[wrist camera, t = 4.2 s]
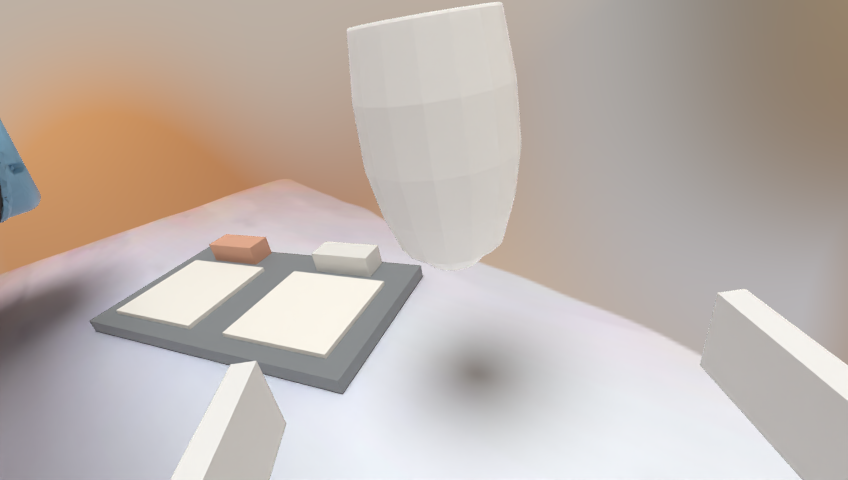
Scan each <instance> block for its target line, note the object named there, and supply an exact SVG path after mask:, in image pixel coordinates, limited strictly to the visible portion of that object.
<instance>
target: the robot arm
mask: <svg viewBox="0 0 848 480" xmlns="http://www.w3.org/2000/svg"><path fill="white" fill-rule="evenodd" d="M40 198H41V196H40V193H39V191H38V189H37V187H36V185H35V183H34V181H33V180H32V178H31V176H30V174H29V172H28V170H27V169H26V167H25V165H24V163H23V161H22V159H21V157H20V155H19V153H18V151H17V150H16V148H15V146H14V144H13V142H12V140H11V138H10V136H9V134H8V133H7V131H6V129H5V127H4V125H3V123H2V121H1V120H0V223H1V222H4V221H6V220H7V219H8V218H10V217H13V216H15V215H19V214H21V213H24V212H28V211H30V210H32V209H34V208H35V207H36V206H37V205H38V204H39V202H40ZM700 366H701V367H702V368H703V369H704V370H705V371H706V372H707V374H708V375H709V376H710V377H711V378H712V379H713V380H714V381H715V382H716V384H717V385H718V386H719V387H720V388H721V389H722V390H723V391H724V393H725V394H726V395H727V396H728V397H729V398H730V399H731V400H732V402H733V403H734V404H735V405H736V406H737V407H738V408H739V409H740V410H741V412H742V413H743V414H744V415H745V416H746V417H747V418H748V419H749V421H750V422H751V423H752V424H753V425H754V426H755V427H756V428H757V430H758V431H759V432H760V433H761V434H762V435H763V436H764V437H765V438H766V440H767V441H768V442H769V443H770V444H771V445H772V446H773V447H774V449H775V450H776V451H777V452H778V453H779V454H780V455H781V456H782V458H783V459H784V460H785V461H786V462H787V463H788V464H789V465H790V467H791V468H792V469H793V470H794V471H795V472H796V473H797V474H798V475H799V477H800V478H801V479H802V480H848V365H846V364H845V363H843V362H842V361H841V360H839V359H838V358H837V357H836V356H834V355H833V354H832V353H830V352H829V351H828V350H826V349H825V348H823V347H822V346H821V345H819V344H818V343H817V342H816V341H814V340H813V339H812V338H810V337H809V336H808V335H806V334H805V333H803V332H802V331H801V330H800V329H798V328H797V327H795V326H794V325H793V324H792V323H790V322H789V321H788V320H786V319H785V318H784V317H782V316H781V315H779V314H778V313H777V312H776V311H774V310H773V309H771V308H770V307H769V306H768V305H766V304H765V303H763V302H762V301H761V300H759V299H758V298H757V297H755V296H754V295H753V294H751V293H750V292H749V291H747V290H746V289H741V290H734V291H728V292H720V293H717V297H716V300H715V305H714V309H713V313H712V317H711V321H710V325H709V330H708V334H707V338H706V342H705V346H704V351H703V354H702V359H701V363H700ZM285 426H286V422H285V420H284V418H283V416H282V414H281V411H280V409H279V407H278V405H277V403H276V401H275V399H274V397H273V394H272V392H271V390H270V388H269V386H268V384H267V382H266V380H265V377H264V375H263V373H262V371H261V369H260V367H259V365H258V363H257V361H250V362H244V363H237V364H231V365H230V367H229V368H228V370H227V372H226V374H225V376H224V378H223V380H222V382H221V384H220V386H219V388H218V389H217V391H216V393H215V395H214V397H213V399H212V401H211V403H210V405H209V407H208V409H207V410H206V412H205V414H204V416H203V418H202V420H201V422H200V424H199V426H198V428H197V430H196V431H195V433H194V435H193V437H192V439H191V441H190V443H189V445H188V447H187V449H186V451H185V452H184V454H183V456H182V458H181V460H180V462H179V464H178V466H177V468H176V470H175V472H174V473H173V475H172V477H171V479H170V480H269V479H270V476H271V473H272V469H273V466H274V463H275V459H276V456H277V453H278V449H279V446H280V443H281V439H282V436H283V433H284V430H285Z"/></svg>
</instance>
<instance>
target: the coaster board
mask: <svg viewBox="0 0 848 480" xmlns="http://www.w3.org/2000/svg"><path fill="white" fill-rule="evenodd" d="M209 245H210V247H208V248H207V249H205V250H203V251H202V252H200V253H199V254H197V255H195V256H194V257H192V258H190V259H189V260H187V261H186V262H184V263H182V264H181V265H179V266H177V267H176V268H174V269H173V270H171V271H169V272H168V273H166V274H165V275H163V276H161V277H160V278H158V279H156V280H155V281H153V282H152V283H150V284H148V285H147V286H145V287H143V288H142V289H140V290H139V291H137V292H135V293H134V294H132V295H131V296H129V297H127V298H126V299H124V300H122V301H121V302H119V303H118V304H116V305H114V306H113V307H111V308H109V309H108V310H106V311H105V312H103V313H101V314H100V315H98V316H97V317H95V318H93V319H92V320H90V323H91V324H92V326H93V327H94V329H95V330H96V331H99V332H102V333H106V334H110V335H114V336H118V337H122V338H126V339H130V340H134V341H138V342H142V343H145V344H149V345H153V346H157V347H161V348H165V349H169V350H173V351H177V352H181V353H185V354H189V355H192V356H196V357H200V358H204V359H208V360H212V361H216V362H220V363H224V364H228V365H231V364H237V363H244V362H250V361H257V363H258V365H259V367H260V369H261V371H262V373H263V374H267V375H271V376H275V377H278V378H282V379H286V380H290V381H294V382H298V383H302V384H306V385H310V386H314V387H318V388H322V389H325V390H329V391H333V392H337V393H341V394H343V393H344V391H345V390H346V388H347V387H348V385H349V384H350V382H351V381H352V379H353V378H354V376H355V375H356V373H357V372H358V371H359V369H360V368H361V366H362V365H363V363H364V362H365V360H366V359H367V357H368V356H369V354H370V353H371V351H372V350H373V348H374V347H375V346H376V344H377V343H378V341H379V340H380V338H381V337H382V335H383V334H384V332H385V331H386V329H387V328H388V326H389V325H390V323H391V322H392V321H393V319H394V318H395V316H396V315H397V313H398V312H399V310H400V309H401V307H402V306H403V304H404V303H405V301H406V300H407V298H408V297H409V296H410V294H411V293H412V291H413V290H414V288H415V287H416V285H417V284H418V282H419V281H420V279H421V278H422V270H421V266H420V265H409V264H398V263H387V262H382V261H381V256H380V252H379V248H378V245H368V244H354V243H340V242H325V243H324V244H322V245H321V246H320V247H319V248H318V249H316V250H315V251H314V252H313V253H312V256H310V255H299V254H288V253H277V252H271V250H270V247H269V245H268V242H267V239H266V237H256V236H243V235H229V234H226V235H224V236H223V237H221V238H219V239H218V240H216V241H214V242H213V243H211V244H209Z"/></svg>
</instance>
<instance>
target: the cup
mask: <svg viewBox="0 0 848 480" xmlns="http://www.w3.org/2000/svg"><path fill="white" fill-rule="evenodd" d="M347 41H348V54H349V66H350V79H351V92H352V105H353V110H354V115H355V121H356V126H357V131H358V136H359V142H360V147H361V152H362V158H363V163H364V168H365V172H366V175H367V177H368V180H369V182H370V185H371V187H372V189H373V192H374V195H375V197H376V200H377V202H378V205H379V207H380V210H381V212H382V214H383V217H384V219H385V221H386V223H387V224H388V226H389V228H390V229H391V231H392V233H393V234H394V236H395V238H396V239H397V241H398V243H399V244H400V246H401V248H402V250H403V251H404V252H405V253H406V254H407V255H409V256H410V257H411V258H412V259H415V260H418V261H422V262H425V263H428V264H430V265H432V266H433V267H434V268H437V269H440V270H443V271H457V270H463V269H466V268H469V267H471V266H473V265H475V264H476V263H477V262H478V261H479V260H480V259H481V258H482V257H483V256H484V255H486V254H489V253H490V252H492V251H493V250H494V249H495V248H497V247H498V246H499V245H500V244H501V243H502V241H503V237H504V234H505V230H506V227H507V223H508V219H509V216H510V213H511V209H512V205H513V202H514V198H515V194H516V185H517V177H518V169H519V161H520V152H521V131H520V117H519V104H518V89H517V77H516V72H515V66H514V60H513V55H512V50H511V45H510V39H509V34H508V29H507V24H506V18H505V12H504V7H503V4H502V3H501V2H493V3H485V4H477V5H471V6H464V7H458V8H451V9H445V10H439V11H433V12H427V13H421V14H417V15H410V16H404V17H399V18H394V19H388V20H383V21H378V22H373V23H368V24H364V25H359V26H355V27H351V28H348V29H347Z"/></svg>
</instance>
